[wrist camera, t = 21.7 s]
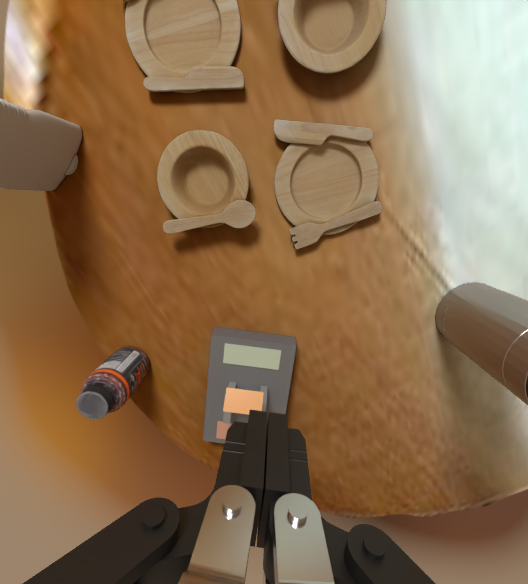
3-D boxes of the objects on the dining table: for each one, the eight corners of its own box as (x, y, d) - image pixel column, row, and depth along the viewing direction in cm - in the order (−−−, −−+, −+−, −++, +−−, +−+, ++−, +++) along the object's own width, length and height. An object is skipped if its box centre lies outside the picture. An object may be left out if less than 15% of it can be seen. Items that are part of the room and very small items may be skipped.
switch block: (295, 337, 47) (298, 359, 40) (279, 437, 52) (279, 472, 45) (215, 326, 47) (204, 347, 41) (207, 427, 52) (196, 461, 45)
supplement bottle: (151, 381, 50) (116, 430, 39) (114, 376, 50) (69, 424, 40) (151, 346, 49) (114, 388, 38) (113, 342, 49) (65, 382, 38)
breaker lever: (261, 395, 47) (263, 392, 34) (258, 412, 46) (261, 416, 33) (234, 391, 47) (226, 387, 34) (231, 409, 46) (222, 411, 33)
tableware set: (115, -46, 36) (95, -76, 32) (379, -90, 34) (392, -128, 30) (170, 259, 45) (160, 265, 41) (380, 239, 43) (390, 243, 39)
